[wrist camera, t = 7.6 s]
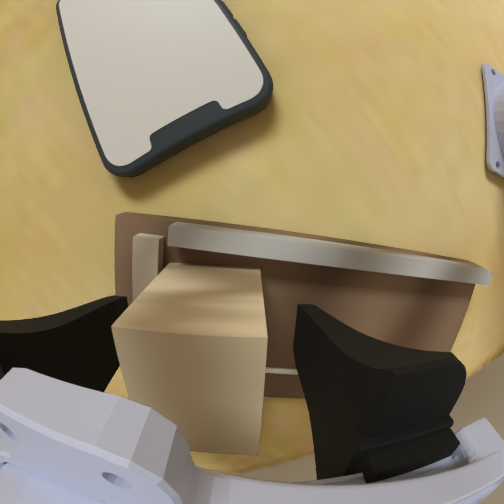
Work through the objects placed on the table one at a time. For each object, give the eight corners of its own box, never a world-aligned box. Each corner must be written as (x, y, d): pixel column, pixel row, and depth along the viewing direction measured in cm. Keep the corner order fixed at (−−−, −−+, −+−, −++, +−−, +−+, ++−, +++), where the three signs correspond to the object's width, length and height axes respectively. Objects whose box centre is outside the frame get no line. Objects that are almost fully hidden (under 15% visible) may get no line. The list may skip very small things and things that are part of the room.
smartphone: (62, 8, 10) (123, 187, 13) (51, 0, 8) (109, 188, 11) (172, -54, 9) (282, 105, 12) (167, -67, 7) (286, 95, 10)
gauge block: (259, 265, 12) (267, 337, 6) (255, 359, 13) (258, 454, 8) (169, 262, 12) (111, 326, 6) (177, 355, 13) (145, 443, 8)
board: (468, 260, 14) (492, 271, 11) (424, 379, 16) (438, 399, 13) (126, 212, 13) (103, 218, 10) (130, 362, 15) (116, 385, 13)
